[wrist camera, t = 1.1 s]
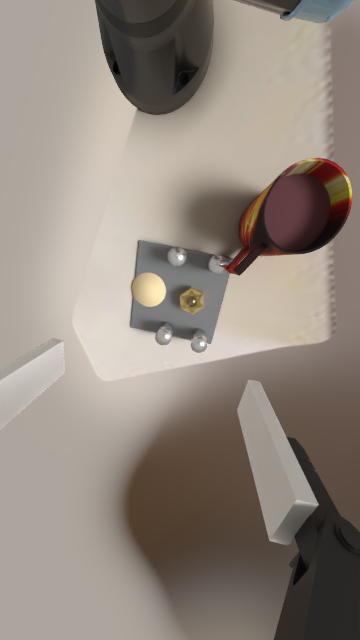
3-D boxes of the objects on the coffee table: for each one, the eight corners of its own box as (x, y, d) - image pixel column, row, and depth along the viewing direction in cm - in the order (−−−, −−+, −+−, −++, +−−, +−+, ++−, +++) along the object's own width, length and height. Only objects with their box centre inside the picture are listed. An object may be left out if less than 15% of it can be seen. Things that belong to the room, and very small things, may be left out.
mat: (137, 239, 35) (136, 239, 35) (233, 258, 35) (233, 258, 35) (129, 326, 42) (128, 326, 41) (210, 343, 41) (210, 344, 41)
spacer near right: (209, 253, 35) (211, 253, 30) (225, 257, 35) (229, 257, 30) (206, 270, 36) (207, 272, 31) (221, 273, 36) (225, 276, 31)
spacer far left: (161, 320, 40) (156, 329, 35) (175, 323, 40) (171, 332, 35) (159, 333, 41) (154, 343, 36) (172, 336, 41) (169, 346, 36)
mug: (222, 270, 35) (236, 275, 24) (250, 187, 31) (283, 146, 20) (271, 284, 36) (307, 296, 24) (306, 204, 31) (370, 172, 20)
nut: (180, 287, 37) (179, 289, 35) (202, 285, 37) (202, 287, 34) (182, 311, 39) (181, 314, 37) (203, 310, 38) (203, 313, 36)
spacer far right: (193, 327, 40) (192, 336, 35) (207, 330, 40) (208, 340, 35) (190, 339, 41) (189, 350, 36) (204, 342, 41) (204, 353, 36)
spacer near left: (173, 246, 35) (169, 245, 30) (188, 249, 35) (187, 249, 30) (170, 263, 36) (166, 264, 31) (185, 266, 36) (183, 268, 31)
